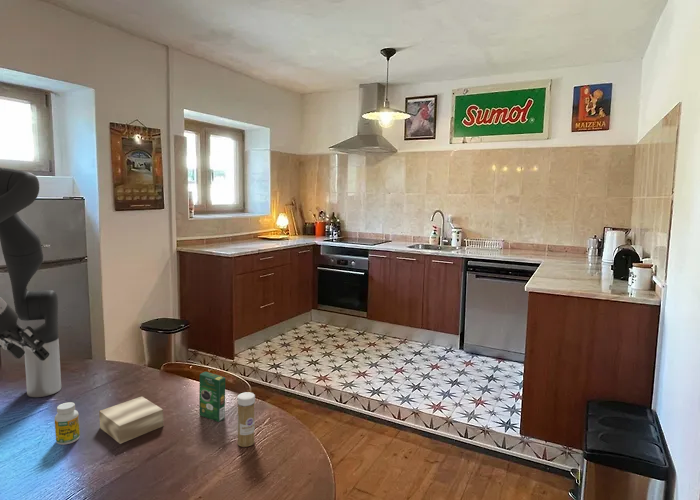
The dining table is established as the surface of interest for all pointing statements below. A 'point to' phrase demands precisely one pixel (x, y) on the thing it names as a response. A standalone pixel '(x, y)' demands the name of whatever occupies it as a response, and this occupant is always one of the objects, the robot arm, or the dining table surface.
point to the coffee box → (212, 396)
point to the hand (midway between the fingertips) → (33, 356)
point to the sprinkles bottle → (246, 419)
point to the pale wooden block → (131, 419)
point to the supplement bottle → (67, 424)
